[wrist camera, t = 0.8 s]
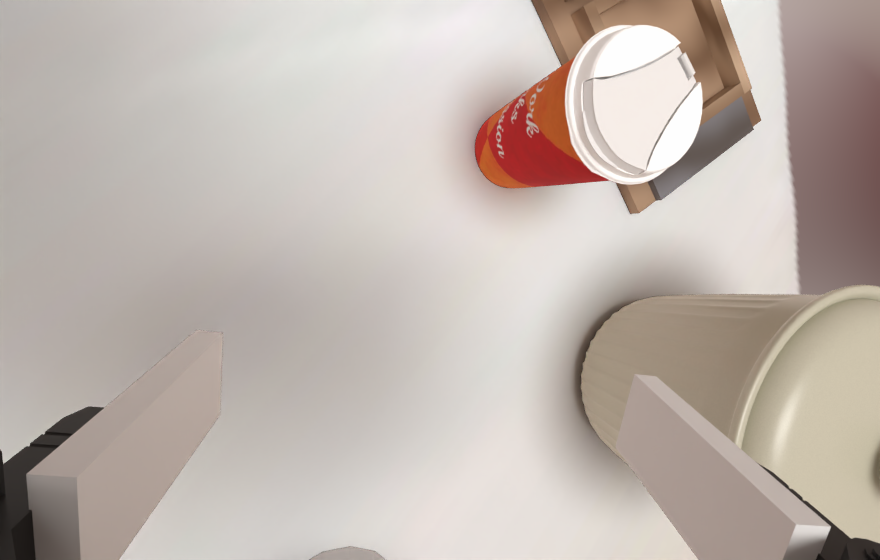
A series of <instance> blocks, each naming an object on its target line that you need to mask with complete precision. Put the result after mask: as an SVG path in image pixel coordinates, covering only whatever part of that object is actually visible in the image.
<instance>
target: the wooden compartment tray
mask: <svg viewBox="0 0 880 560" xmlns="http://www.w3.org/2000/svg"><path fill="white" fill-rule="evenodd" d="M532 2H533V4H534V6H535V9H536V11H537V13H538V15H539V17H540V19H541V22H542V24H543V26H544V28H545V30H546V32H547V35H548V37H549V39H550V41H551V43H552V45H553V47H554V50H555V52H556V54H557V56H558V58H559V60H560V63H561V65H564V64H565V63H567V62H568V61H570V60H571V59H572V58H574V57H575V56H576V55H577V54H578V52H579V51H580V49H581V48H582V47H583V45H584V44H585V43H586V42H587V41H588V40H589V39H590V38H591V37H593V36H594V35H596V34H597V33H599V32H600V31H602V30H604V29H607V28H609V27H613V26H618V25H631V26H635V25H650V26H654V27H658V28H661V29H663V30H665V31H667V32H669V33H670V34H671V35H673V36H674V37H676V38H677V39H678V40H679V41H680V42H681V43H680V44H678V45H677V46H676V47H678V46H679V48H680V50H681V52H682V54H683V53H685V52H686V54H687V56H688V58H689V60H690V62H691V64H692V66H693V68H694V71H695V74H694V75H693V76H694V78H695V80H696V83H697V82H701V88H702V100H703V105H702V116H701V121H700V125H699V129H698V132H697V134H696V137H695V139H694V141H693V143H692V145H691V146H690V148H689V149H688V151H687V152H686V153H685V154H684V155H683V156H682V157H681V159H680V160H678V161H677V162H676V163H675V164H673V165H672V166H670V167H668V168H667V169H666V170H665V171H664V172H663V173H661V174H660V175H659V176H657V177H655V178H654V179H652V180H650V181H647V182H644V183H641V184H633V185H628V184H619V183H617V186H618V188H619V190H620V192H621V194H622V196H623V199H624V201H625V203H626V205H627V207H628V209H629V212H630V214H633V213H640V212H641V211H643V210H644V209H645V208H647V207H648V206H649V205H651V204H652V203H653V202H654V201H656V200H662V199H663V198H665V197H666V196H667V195H669V194H670V193H671V192H673V191H674V190H675V189H676V188H678V187H679V186H680V185H682V184H683V183H684V182H686V181H687V180H688V179H690V178H691V177H692V176H693V175H695V174H696V173H697V172H699V171H700V170H701V169H703V168H704V167H705V166H707V165H708V164H709V163H710V162H712V161H713V160H714V159H716V158H717V157H718V156H720V155H721V154H722V153H724V152H725V151H726V150H728V149H729V148H730V147H731V146H733V145H734V144H735V143H737V142H738V141H739V140H741V139H742V138H743V137H745V136H746V135H747V134H748V133H750V132H751V131H752V130H754V129H753V126H754V125H756V124H757V123H758V122H760V121H761V118H760V115H759V113H758V110H757V107H756V104H755V102H754V99H753V96H752V93H751V90H750V89H752V87H751V84H750V81H749V78H748V75H747V73H746V70H745V67H744V64H743V61H742V59H741V56H740V53H739V50H738V47H737V45H736V42H735V39H734V36H733V33H732V31H731V28H730V25H729V22H728V19H727V17H726V14H725V11H724V8H723V5H722V3H721V0H532Z"/></svg>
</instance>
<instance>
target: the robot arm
mask: <svg viewBox="0 0 880 560" xmlns="http://www.w3.org/2000/svg"><path fill="white" fill-rule="evenodd" d="M222 351H223V333H222V332H212V331H202V330H196V331H195V332H193V333H192V334H191V335H190V336H189V337H187V338H186V339H185V340H184V341H183V342H182V343H180V344H179V345H178V346H177V347H176V348H175V349H173V350H172V351H171V352H170V353H169V354H167V355H166V356H165V357H164V358H163V359H162V360H160V361H159V362H158V363H157V364H156V365H154V366H153V367H152V368H151V369H150V370H149V371H147V372H146V373H145V374H144V375H143V376H141V377H140V378H139V379H138V380H137V381H136V382H134V383H133V384H132V385H131V386H130V387H128V388H127V389H126V390H125V391H124V392H123V393H121V394H120V395H119V396H118V397H117V398H115V399H114V400H113V401H112V402H111V403H110V404H108V405H107V406H106V407H105V408H100V407H86V408H84V409H82V410H80V411H77V412H75V413H73V414H71V415H68V416H66V417H64V418H63V419H61V420H60V421H59V422H57V423H56V424H55V425H53V426H52V427H51V428H50V429H48V430H47V431H46V432H45V435H43V434H42V435H41V436H39V437H38V438H37V439H35V440H34V441H33V442H31V443H30V446H29V447H28V446H26V447H25V448H24V449H22V450H21V451H20V452H19V453H17V454H16V455H15V456H13V457H12V458H11V459H10V460H8V461H7V462H6V463H4V464H3V460H2V451H1V450H0V560H119V559H120V557H121V556H122V554H123V553H124V552H125V550H126V549H127V547H128V546H129V544H130V543H131V542H132V540H133V539H134V537H135V536H136V534H137V533H138V532H139V530H140V529H141V527H142V526H143V524H144V523H145V522H146V520H147V519H148V517H149V516H150V514H151V513H152V512H153V510H154V509H155V507H156V506H157V504H158V503H159V502H160V500H161V499H162V497H163V496H164V494H165V493H166V492H167V490H168V489H169V487H170V486H171V484H172V483H173V482H174V480H175V479H176V477H177V476H178V474H179V473H180V472H181V470H182V469H183V467H184V466H185V464H186V463H187V462H188V460H189V459H190V457H191V456H192V454H193V453H194V452H195V450H196V449H197V447H198V446H199V444H200V443H201V442H202V440H203V439H204V437H205V436H206V434H207V433H208V432H209V430H210V429H211V427H212V426H213V424H214V423H215V422H216V420H217V419H218V417H219V416H220V410H221V381H222ZM615 447H616V449H617V450H618V451H619V453H620V454H621V455H622V457H623V458H624V459H625V461H626V462H627V463H628V465H629V466H630V468H631V469H632V470H633V472H634V473H635V474H636V476H637V477H638V478H639V480H640V481H641V482H642V484H643V485H644V486H645V488H646V489H647V491H648V492H649V493H650V495H651V496H652V497H653V499H654V500H655V501H656V503H657V504H658V505H659V507H660V508H661V509H662V511H663V512H664V514H665V515H666V516H667V518H668V519H669V520H670V522H671V523H672V524H673V526H674V527H675V528H676V530H677V531H678V532H679V534H680V535H681V537H682V538H683V539H684V541H685V542H686V543H687V545H688V546H689V547H690V549H691V550H692V551H693V553H694V554H695V555H696V557H697V558H698V560H880V543H877V542H874V541H871V540H868V539H862V538H852V539H851V538H850V537H849V536H847V535H846V534H845V533H844V532H843V531H842V530H840V529H839V528H838V527H837V526H836V525H834V524H833V523H832V522H831V521H830V520H829V519H827V518H826V517H825V516H824V515H823V514H822V513H820V512H819V511H818V510H817V509H816V508H814V507H813V506H812V505H811V504H810V503H809V502H807V501H804V500H803V497H801V496H800V495H799V494H798V493H797V492H796V491H794V490H793V489H790V488H789V486H788V485H787V484H786V483H785V482H784V481H783V480H781V479H780V478H779V477H778V476H777V475H776V474H774V473H773V472H772V471H770V470H768V469H767V468H765V467H763V466H762V465H760V464H758V463H757V462H755V461H754V460H753V459H752V458H751V457H749V456H748V455H747V454H746V453H745V452H744V451H742V450H741V449H740V448H739V447H738V446H737V445H735V444H734V443H733V442H732V441H731V440H730V439H728V438H727V437H726V436H725V435H724V434H723V433H722V432H720V431H719V430H718V429H717V428H716V427H715V426H713V425H712V424H711V423H710V422H709V421H708V420H706V419H705V418H704V417H703V416H702V415H701V414H699V413H698V412H697V411H696V410H695V409H694V408H692V407H691V406H690V405H689V404H688V403H687V402H685V401H684V400H683V399H682V398H681V397H680V396H678V395H677V394H676V393H675V392H674V391H673V390H671V389H670V388H669V387H668V386H667V385H666V384H665V383H663V382H662V381H661V380H660V379H659V378H658V377H656V376H649V375H639V374H634V378H633V381H632V385H631V389H630V393H629V397H628V400H627V404H626V408H625V412H624V416H623V420H622V423H621V427H620V431H619V435H618V439H617V442H616V446H615Z"/></svg>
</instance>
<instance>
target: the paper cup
mask: <svg viewBox="0 0 880 560" xmlns="http://www.w3.org/2000/svg"><path fill="white" fill-rule="evenodd" d="M680 43H681V42H680V41H679V40H678V39H677V38H676V37H674V36H673V35H671V34H670V33H669V32H667V31H665V30H663V29H661V28H658V27H654V26H650V25H635V26H631V25H618V26H613V27H609V28H607V29H604V30H602V31H600V32H599V33H597V34H596V35H594V36H593V37H591V38H590V39H589V40H588V41H587V42H586V43H585V44H584V45H583V47H582V48H581V49H580V51H579V52H578V54H577V55H576V56H575V57H574V58H572V59H571V60H570V61H568V62H567V63H565V64H564V65H562V66H561V67H560V68H558V69H557V70H555V71H554V72H552V73H551V74H550V75H548V76H547V77H545V78H544V79H542V80H541V81H540V82H538V83H537V84H535V85H534V86H532V87H531V88H530V89H528V90H527V91H525V92H524V93H523V94H521V95H520V96H518V97H517V98H516V99H514V100H513V101H511V102H510V103H509V104H507V105H506V106H504V107H503V108H502V109H500V110H499V111H498V112H496V113H495V114H494V115H492V116H491V117H490V118H489V119H488V120H487V121H486V122H485V123H484V124H483V125H482V127H481V128H480V130H479V132H478V134H477V138H476V142H475V155H476V160H477V163H478V166H479V168H480V170H481V171H482V173H483V174H484V175H485V177H486V178H487V179H488V180H490V181H491V182H492V183H494V184H496V185H498V186H501V187H505V188H526V187H539V186H552V185H564V184H575V183H587V182H598V181H612V182H616V183H619V184H628V185H633V184H641V183H644V182H647V181H650V180H652V179H654V178H655V177H657V176H659V175H660V174H661V173H663V172H664V171H665V170H666V169H667V168H668V167H670V166H672V165H673V164H675V163H676V162H677V161H678V160H680V159H681V157H682V156H683V155H684V154H685V153H686V152H687V151H688V149H689V148H690V146H691V145H692V143H693V141H694V139H695V137H696V134H697V132H698V129H699V125H700V121H701V116H702V105H703V100H702V88H701V82H697V83H696V80H695V78H694V76H693V75H694V74H695V71H694V68H693V66H692V64H691V62H690V60H689V58H688V56H687V54H686V52H685V53H683V54H682V52H681V50H680V48H679V46H678V47H676V46H677V45H678V44H680Z"/></svg>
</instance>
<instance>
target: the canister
mask: <svg viewBox="0 0 880 560" xmlns="http://www.w3.org/2000/svg"><path fill="white" fill-rule="evenodd" d="M634 374H639V375H649V376H656V377H658V378H659V379H660V380H661V381H662V382H663V383H665V384H666V385H667V386H668V387H669V388H670V389H671V390H673V391H674V392H675V393H676V394H677V395H678V396H680V397H681V398H682V399H683V400H684V401H685V402H687V403H688V404H689V405H690V406H691V407H692V408H694V409H695V410H696V411H697V412H698V413H699V414H701V415H702V416H703V417H704V418H705V419H706V420H708V421H709V422H710V423H711V424H712V425H713V426H715V427H716V428H717V429H718V430H719V431H720V432H722V433H723V434H724V435H725V436H726V437H727V438H728V439H730V440H731V441H732V442H733V443H734V444H735V445H737V446H738V447H739V448H740V449H741V450H742V451H744V452H745V453H746V454H747V455H748V456H749V457H751V458H752V459H753V460H754V461H755V462H757V463H758V464H760V465H762V466H763V467H765V468H767V469H768V470H770V471H772V472H773V473H774V474H776V475H777V476H778V477H779V478H780V479H781V480H783V481H784V482H785V483H786V484H787V485H788V486H789V488H790V489H793V490H794V491H796V492H797V493H798V494H799V495H800V496H801V497H803V500H804V501H807V502H809V503H810V504H811V505H812V506H813V507H814V508H816V509H817V510H818V511H819V512H820V513H822V514H823V515H824V516H825V517H826V518H827V519H829V520H830V521H831V522H832V523H833V524H834V525H836V526H837V527H838V528H839V529H840V530H842V531H843V532H844V533H845V534H846V535H847V536H849V537H850V538H851V539H852V538H862V539H868V540H871V541H874V542H877V543H880V287H878V286H871V285H853V286H847V287H843V288H840V289H836V290H833V291H830V292H828V293H825V294H823V295H762V294H701V295H668V296H654V297H649V298H646V299H642V300H638V301H635V302H633V303H631V304H630V305H626V306H624V307H622V308H621V309H620V310H619V311H618V312H615V313H613V314H612V315H611V317H610V318H609V319H608V320H606V321H605V322H604V323H603V325H602V327H601V328H600V329H599V330H598V331H597V332H596V335H595V337H594V339H593V340H592V341H591V342H590V346H589V349H588V351H587V352H586V358H585V361H584V362H583V371H582V374H581V378H582V384H581V391H582V401H583V403H584V405H585V413H586V415H587V416H588V418H589V421H590V424H591V426H592V427H593V429H594V430H595V431H596V433H597V435H598V436H599V438H600V439H601V440H602V441H603V442H604V443H605V444H606V445H607V446H608V447H609V448H610V449H611V450H612V451H613V452H614V453H615V454H616V455H617V456H618V457H619V458H620V459H622V460H623V461H624V462H625V463H626V464H627V465H628V463H627V462H626V461H625V459H624V458H623V457H622V455H621V454H620V453H619V451H618V450H617V449H616V447H615V446H616V442H617V439H618V435H619V431H620V427H621V423H622V420H623V416H624V412H625V408H626V404H627V400H628V397H629V393H630V389H631V385H632V381H633V378H634ZM628 466H629V465H628Z"/></svg>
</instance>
